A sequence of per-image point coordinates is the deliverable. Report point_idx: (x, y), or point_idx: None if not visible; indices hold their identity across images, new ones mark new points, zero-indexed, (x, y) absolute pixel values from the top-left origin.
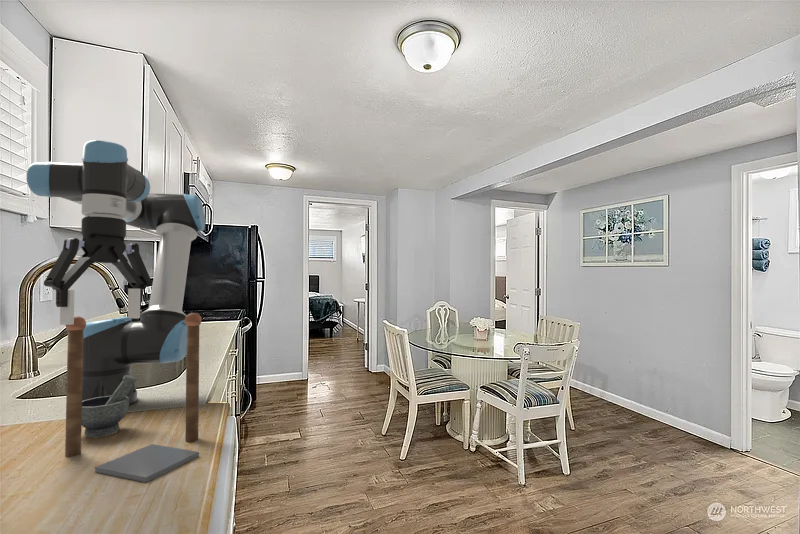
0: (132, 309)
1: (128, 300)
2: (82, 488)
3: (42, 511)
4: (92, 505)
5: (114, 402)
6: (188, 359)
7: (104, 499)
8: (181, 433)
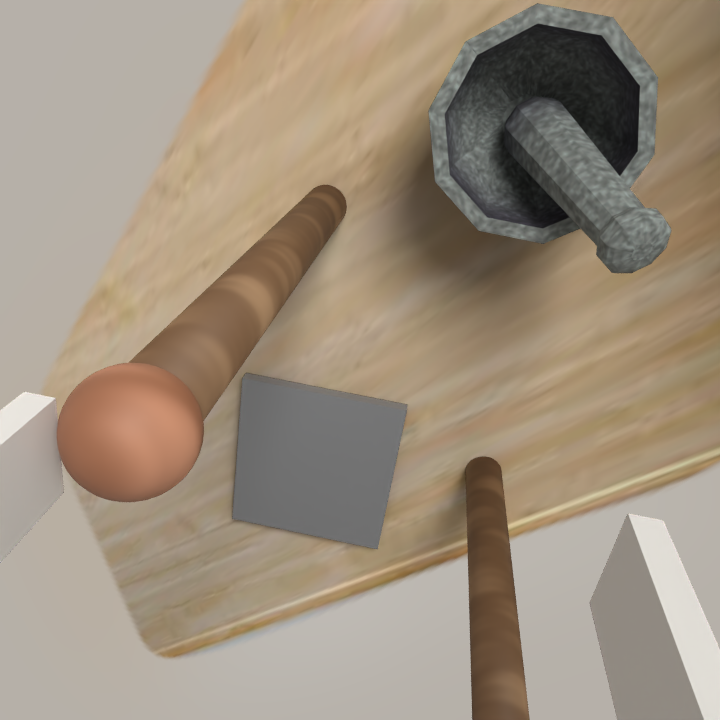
0: (629, 630)
1: (686, 675)
2: None
3: None
4: None
5: (545, 190)
6: (472, 687)
7: None
8: (537, 411)
